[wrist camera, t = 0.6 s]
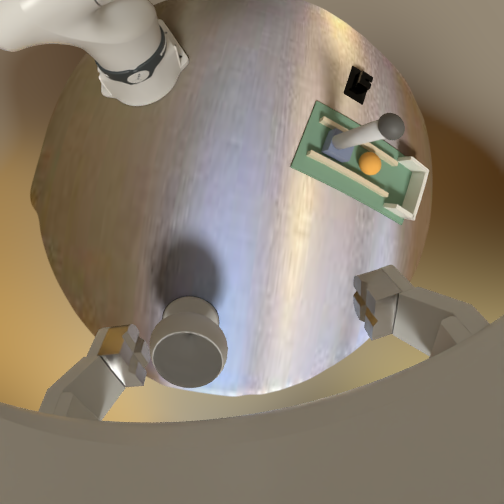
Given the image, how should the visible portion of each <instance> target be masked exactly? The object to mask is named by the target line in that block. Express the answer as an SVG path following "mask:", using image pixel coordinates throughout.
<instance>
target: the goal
mask: <svg viewBox="0 0 504 504" xmlns="http://www.w3.org/2000/svg"><path fill="white" fill-rule="evenodd" d="M319 123H321V124H323V125H325V126H327V127H328V128H330V129H332V130H333V129H335V128H337V129H339V130H340V131H342V132H346V131H348V129H346V128H344V127H343V126H341V125H339V124H337V123H336V122H334V121H332V120H330V119H328V118H327V117H325V116H324V117H322V118H320V121H319ZM360 146H362V147H363V148H365V149H366V150H368V151H370V152H373V153H375V154H376V155H378V156H379V158H381V159H382V160H384V161H385V162H387V163H388V164H390V165H391V166H398V162H399V163H401V164H402V165H404V166H405V167H406V168H408V169H409V170H410V171H412V175H411V178H410V182H409V185H408V189H407V192H406V195H405V198H404V201H403V204H402V207H401V206H399V205H398V204H391V203H384V205H383V207H384V208H386V209H388V210H389V211H391V212H393V213H394V214H396V215H397V216H399V217H401V218H405V219H410V220H415V217H416V214H417V211H418V208H419V205H420V201H421V198H422V195H423V191H424V188H425V184H426V180H427V176H428V173H429V170H428V169H427V168H426V167H425V166H424V165H422V164H421V163H420V162H419V161H417V160H416V159H415V158H413V157H412V156H408V157H398V161H396V160H395V159H393V158H392V157H390V156H389V155H387V154H386V153H384V152H383V151H382V150H380V149H378V148H377V147H375V146H374V145H372V144H371V143H369V142H368V143H364V144H360ZM306 156H308V157H310V158H312V159H314V160H316V161H318V162H320V163H322V164H324V165H326V166H328V167H330V168H332V169H334V170H336V171H338V172H339V173H341V174H343V175H345V176H347V177H349V178H351V179H352V180H354V181H356V182H358V183H359V184H361V185H363V186H365V187H366V188H368V189H370V190H372V191H373V192H375V193H377V194H378V195H380V196H382V197H388V195H389V193H388V192H386V191H384V190H383V189H381V188H379V187H378V186H376V185H375V184H373V183H371V182H370V181H368V180H366V179H364V178H363V177H361V176H359V175H358V174H356V173H354V172H352V171H350V170H349V169H347V168H345V167H343V166H341V165H340V164H338V163H336V162H334V161H332V160H330V159H328V158H326V157H324V156H322V155H321V154H319V153H317V152H315V151H313V150H310V151H308V152H307V155H306Z"/></svg>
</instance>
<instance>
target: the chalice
mask: <svg viewBox="0 0 504 504" xmlns="http://www.w3.org/2000/svg"><path fill="white" fill-rule="evenodd" d="M149 346H150V356H151V360H152V363H153V365H154V367H155V369H156V370H157V372H158V373H159V374H160V375H161V376H162V377H163V378H164V379H165V380H167V381H168V382H170V383H172V384H174V385H177V386H180V387H185V388H195V387H201V386H204V385H206V384H208V383H210V382H212V381H213V380H214V379H215V378H217V377H218V375H219V374H220V373H221V371H222V370H223V368H224V365H225V363H226V359H227V351H228V347H227V341H226V338H225V335H224V333H223V331H222V330H221V329H220V327H219V317H218V314H217V312H216V310H215V309H214V307H213V306H212V305H211V304H210V303H208V302H207V301H205V300H203V299H201V298H198V297H192V296H187V297H181V298H178V299H176V300H174V301H172V302H171V303H170V304H169V305H168V306H167V307H166V309H165V311H164V314H163V319H162V320H161V321H160V322H159V323H158V324H157V325H156V327H155V329H154V330H153V332H152V334H151V338H150V345H149Z"/></svg>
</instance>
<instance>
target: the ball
mask: <svg viewBox="0 0 504 504" xmlns="http://www.w3.org/2000/svg"><path fill="white" fill-rule="evenodd" d="M359 167H360V169H361V171H362V172H363V173H365V174H367V175H375V174H377V173H378V172H379V171H380V169H381V160H380V158H379V156H378V155H376V154H375V153H373V152H366V153H364V154H362V155H361V157H360V158H359Z"/></svg>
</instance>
